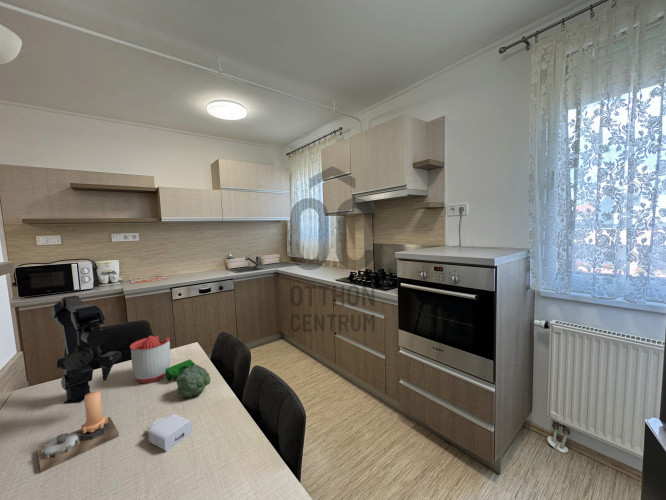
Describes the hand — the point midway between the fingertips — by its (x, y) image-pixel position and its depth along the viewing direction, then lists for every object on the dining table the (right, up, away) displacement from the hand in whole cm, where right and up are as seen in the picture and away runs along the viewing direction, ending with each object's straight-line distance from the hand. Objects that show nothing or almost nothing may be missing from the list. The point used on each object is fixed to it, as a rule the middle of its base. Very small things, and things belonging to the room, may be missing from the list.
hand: (91, 381), depth 103 cm
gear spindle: (+10, -12, -10) cm, 19 cm away
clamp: (+18, -11, +27) cm, 35 cm away
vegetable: (+31, -12, +15) cm, 36 cm away
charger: (+34, -14, -10) cm, 38 cm away
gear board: (+8, -14, -13) cm, 21 cm away
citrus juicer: (+5, -11, +28) cm, 31 cm away
